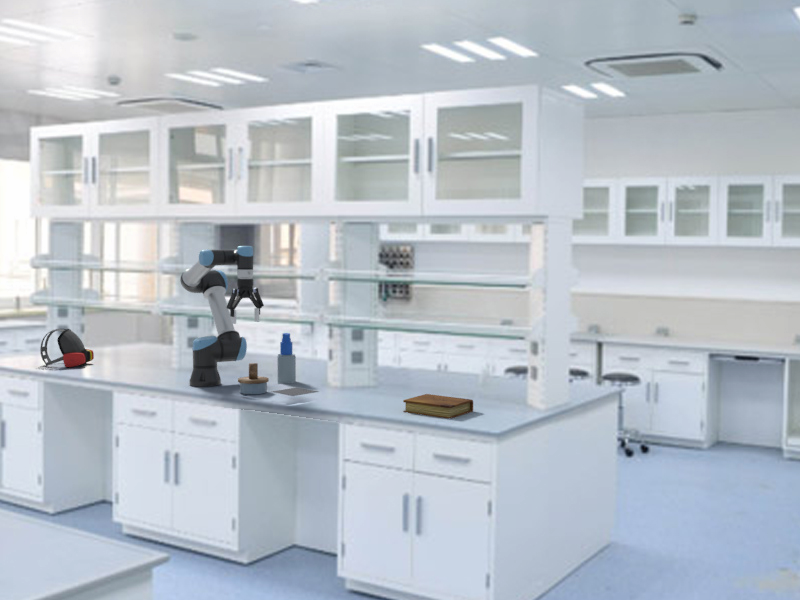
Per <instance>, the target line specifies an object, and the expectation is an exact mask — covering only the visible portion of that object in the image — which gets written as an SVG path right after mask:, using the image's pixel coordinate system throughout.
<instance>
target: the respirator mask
mask: <svg viewBox="0 0 800 600" xmlns="http://www.w3.org/2000/svg"><path fill="white" fill-rule="evenodd" d="M55 332H61V333H60V334H59V335H58V336H57V339H56V341H57V344H58V345H57V346H58V348H59V350H60V351H59V352H60V353H61V354H62V356H60V357H58V358H55V359H53V360H51V358H50V356H49V354H48V342H49V339H50V337H51V336H52V335H53V333H55ZM45 338H46V339H45ZM44 341H45V342H44ZM43 345H44V346H43ZM39 348H40V350H39V351H40V356H41V359H42V361H43V362H44V364H45V366H46V367H47V366H50V365H54V364H56V363H58V362H59V363H60V362H61V361H63V364H64V365H63V366H64V367H65V368H66V367H69V368H73V367H74V368H75V367H78V366H86V364H87V363H89V362H91V361H93V360H94V358H95V354H94V350H92V349H88V348H85V345H84V342H83V341H82V339H81V338H80V337H79V336H78V335H77V334H76V333H75V332H74V331H72V329H70V328H66V329H65V328H63V329H62V328H56V329H52V330H51V331H49V332H47V333H45V335H44V336H43V338H42V340H41V343H40V347H39Z"/></svg>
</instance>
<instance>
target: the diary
mask: <svg viewBox="0 0 800 600" xmlns="http://www.w3.org/2000/svg"><path fill="white" fill-rule="evenodd" d="M403 403H405V410H403V411H402V412H403V413H406V412H408V413H407V414H413V413H415V414H416V415H420V414H422V415H421V416H427V415H428V416H429V417H435V418H436V417H437V418H442V417H443V418H442V419H449V418H451V419H453V418H456V417H457V418H458V417H459V416H460V417H461V416H463V415H467V414H469V413H473V412H474V399H471V398H461V397H454V396H446V395H439V394H430V393H426V394H425V393H424V394H421V395H418V396H414V397H409V398H405V399H403Z"/></svg>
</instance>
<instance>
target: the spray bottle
mask: <svg viewBox="0 0 800 600" xmlns="http://www.w3.org/2000/svg"><path fill="white" fill-rule="evenodd" d="M279 347H280V352H279V354H277V385H282V384H293V383H296V382H297V381H296V375H297V374H296V373H297V372H296V371H297V370H296V367H297V365H296V361H297V360H296V359H297V358H296V354H295V353H293V341H292V340H291V333H290V332H289V333H288V332H284V333H282V338H281V342H280V345H279Z"/></svg>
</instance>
